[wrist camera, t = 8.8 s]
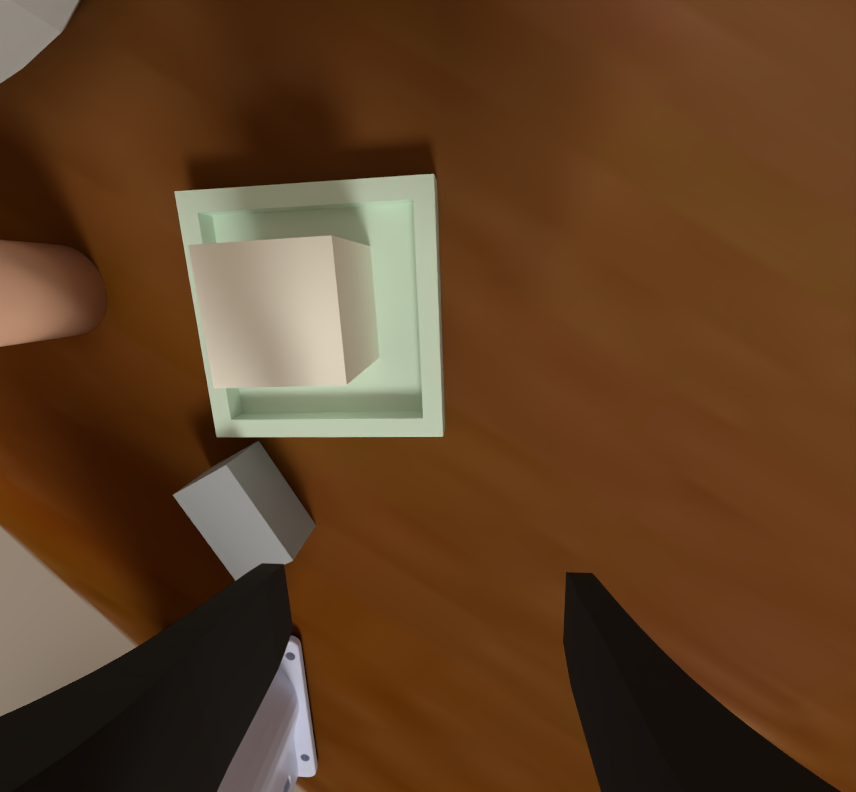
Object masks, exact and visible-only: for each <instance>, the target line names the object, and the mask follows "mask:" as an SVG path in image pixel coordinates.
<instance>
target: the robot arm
mask: <svg viewBox="0 0 856 792" xmlns="http://www.w3.org/2000/svg"><path fill="white" fill-rule="evenodd" d="M292 631H293V625H292V618H291V611H290V604H289V597H288V590H287V583H286V576H285V569H284V564H271V563H261V564H260V565H258V566H256V567H255V568H253V569H252V570H250V571H249V572H247V573H246V574H244V575H243V576H242V577H240V578H239V579H237V580H236V581H234V582H233V583H232V584H230V585H229V586H227V587H226V588H225V589H223V590H222V591H220V592H219V593H218V594H216V595H215V596H213V597H212V598H210V599H209V600H208V601H206V602H205V603H203V604H202V605H200V606H199V607H198V608H196V609H195V610H193V611H192V612H190V613H189V614H187V615H186V616H184V617H183V618H181V619H180V620H178V621H177V622H175V623H174V624H172V625H171V626H169V627H168V628H166V629H165V630H163V631H161V632H160V633H158V634H157V635H155V636H154V637H152V638H151V639H149V640H148V641H146V642H144V643H143V644H141V645H139V646H138V647H136V648H135V649H133V650H131V651H129V652H128V653H126V654H124V655H123V656H121V657H119V658H118V659H116V660H114V661H112V662H110V663H108V664H107V665H105V666H103V667H101V668H99V669H98V670H96V671H94V672H92V673H90V674H88V675H86V676H84V677H82V678H80V679H79V680H76V681H74V682H72V683H70V684H68V685H67V686H64V687H62V688H60V689H58V690H56V691H54V692H52V693H50V694H48V695H46V696H44V697H42V698H40V699H38V700H36V701H34V702H32V703H30V704H27V705H26V706H23V707H21V708H19V709H16V710H14V711H12V712H10V713H7V714H5V715H3V716H1V717H0V792H293V789H294V786H295V783H296V781H297V778H298V776H302V777H311V776H314V775H315V773H316V770H317V766H318V765H317V758H316V750H315V743H314V736H313V728H312V721H311V714H310V706H309V699H308V692H307V685H306V677H305V670H304V663H303V655H302V648H301V643H300V640H299V639H298V638H297V637H295V636H291V634H292ZM563 644H564V649H565V655H566V661H567V667H568V673H569V678H570V684H571V688H572V692H573V695H574V699H575V702H576V706H577V710H578V713H579V717H580V720H581V724H582V727H583V731H584V734H585V738H586V741H587V744H588V748H589V751H590V755H591V758H592V762H593V765H594V769H595V772H596V776H597V779H598V783H599V786H600V790H601V792H841V791H839V790H838V789H836V788H835V787H833V786H831V785H830V784H828V783H827V782H825V781H824V780H822V779H821V778H819V777H818V776H817V775H815V774H814V773H812V772H811V771H809V770H808V769H807V768H805V767H804V766H802V765H801V764H799V763H798V762H796V761H795V760H794V759H792V758H791V757H789V756H788V755H787V754H785V753H784V752H783V751H781V750H780V749H779V748H777V747H776V746H775V745H773V744H772V743H771V742H769V741H768V740H767V739H765V738H764V737H763V736H761V735H760V734H758V733H757V732H756V731H754V730H753V729H752V728H751V727H749V726H748V725H747V724H745V723H744V722H743V721H742V720H740V719H739V718H738V717H737V716H735V715H734V714H733V713H732V712H730V711H729V710H728V709H727V708H726V707H724V706H723V705H722V704H721V703H720V702H718V701H717V700H716V699H715V698H714V697H713V696H711V695H710V694H709V693H708V692H707V691H705V690H704V689H703V688H702V687H701V686H700V685H698V684H697V683H696V682H695V681H694V680H693V679H692V678H691V677H689V676H688V675H687V674H686V673H685V672H684V671H683V670H682V669H681V668H680V667H679V666H678V665H677V664H676V663H675V662H674V661H673V660H672V659H671V658H670V657H668V656H667V655H666V654H665V653H664V652H663V651H662V649H661V648H660V647H659V646H658V645H657V644H656V643H655V642H654V641H653V640H652V639H651V638H650V637H649V636H648V635H647V634H646V633H645V632H644V631H643V630H642V629H641V628H640V627H639V625H638V624H637V623H636V622H635V621H634V620H633V619H632V618H631V617H630V616H629V615H628V613H627V612H626V611H625V610H624V609H623V608H622V607H621V606H620V604H619V603H618V602H617V601H616V600H615V599H614V598H613V596H612V595H611V594H610V593H609V592H608V591H607V589H606V588H605V587H604V586H603V585H602V583H601V582H600V581H599V580H598V579H597V578H596V577H595V576H594V575H593V574H592V573H569V572H566V590H565V613H564V636H563ZM290 652H291V653H293V654H291V653H290Z"/></svg>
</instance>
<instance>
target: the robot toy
mask: <svg viewBox="0 0 856 792" xmlns="http://www.w3.org/2000/svg"><path fill="white" fill-rule="evenodd" d="M80 1H81V0H0V83H2V82H3V81H5V80H6V79H8V78H9V77H11V76H12V75H14V74H15V73H16V72H18V71H19V70H21V69H22V68H24V67H25V66H26V65H27V64H28V63H29V62H30V61H31V60H32V59H33V58H34V57H35V56H37V55H38V54H39V53H40V52H41V51H42V50H43V49H44V48H45V47H46V46H47V45H48V44H50V43H51V42H52V41H53V40H54V39H55V38H56V37H57V36H58V35H59V34H60V33H61V32H62V31H63V30H65V29H66V27H67V25H68V23H69V21H70V19H71V18H72V16H73V14H74V12H75V10H76V8H77V6H78V4H79V3H80Z"/></svg>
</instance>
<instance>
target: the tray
mask: <svg viewBox="0 0 856 792" xmlns="http://www.w3.org/2000/svg"><path fill="white" fill-rule="evenodd" d="M174 192H175V197H176V203H177V209H178V215H179V221H180V227H181V233H182V238H183V244H184V250H185V256H186V262H187V268H188V273H189V279H190V285H191V291H192V297H193V303H194V309H195V314H196V320H197V326H198V332H199V338H200V344H201V350H202V355H203V361H204V367H205V373H206V379H207V385H208V390H209V396H210V402H211V408H212V414H213V420H214V426H215V431H216V437H443V434H444V429H445V403H444V372H443V342H442V311H441V281H440V250H439V219H438V189H437V180H436V177H435V175H434V174H423V175H408V176H393V177H379V178H364V179H349V180H335V181H320V182H306V183H291V184H276V185H262V186H247V187H232V188H218V189H203V190H188V191H174ZM330 235H332V236H336V237H339V238H343V239H346V240H350V241H353V242H357V243H360V244H364V245H367V246H371V259H372V271H373V284H374V296H375V309H376V321H377V334H378V346H379V358H378V359H377V360H376V361H375V362H373V363H372V364H371V365H370V366H369V367H367V368H366V369H365V370H364V371H363V372H361V373H360V374H359V375H358V376H357V377H356V378H354V379H353V380H352V381H351V382H350V383H348V384H347V385H327V386H289V387H252V388H215V389H214V387H213V381H212V376H211V370H210V365H209V359H208V353H207V348H206V342H205V336H204V331H203V325H202V320H201V314H200V308H199V303H198V297H197V292H196V286H195V280H194V275H193V269H192V264H191V258H190V252H189V247H188V245H194V244H209V243H224V242H239V241H254V240H270V239H285V238H300V237H315V236H330Z"/></svg>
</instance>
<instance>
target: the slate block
mask: <svg viewBox="0 0 856 792" xmlns="http://www.w3.org/2000/svg"><path fill="white" fill-rule="evenodd" d="M173 496H174V498H175V499H176V500H177V502H178V503H179V504H180V506H181V507H182V509H183V510H184V511H185V513H186V514H187V515H188V517H189V518H190V519H191V521H192V522H193V523H194V525H195V526H196V528H197V529H198V530H199V532H200V533H201V534H202V536H203V537H204V538H205V540H206V541H207V543H208V544H209V545H210V547H211V548H212V549H213V551H214V552H215V553H216V555H217V556H218V558H219V559H220V560H221V562H222V563H223V564H224V566H225V567H226V568H227V570H228V571H229V572H230V574H231V575H232V577H233V578H234V579H235V581H236V580H237V579H239V578H240V577H242V576H243V575H244V574H246V573H247V572H249V571H250V570H252V569H253V568H255V567H256V566H258V565H260V564H261V563H271V564H284V565H285V564H287V563H289V562H291V561H293V560H294V558H295V557H296V555H297V554H298V552H299V551H300V549H301V548H302V546H303V544H304V543H305V541H306V540H307V538H308V537H309V535H310V534H311V532H312V531H313V529H314V527H315V526H316V524H315V523H314V522H313V520H312V519H311V517H310V516H309V514H308V513H307V511H306V510H305V508H304V507H303V505H302V504H301V502H300V501H299V499H298V498H297V496H296V495H295V493H294V492H293V491H292V489H291V488H290V486H289V485H288V483H287V482H286V480H285V479H284V477H283V476H282V474H281V473H280V471H279V470H278V468H277V467H276V465H275V464H274V462H273V461H272V460H271V458H270V457H269V455H268V454H267V452H266V451H265V449H264V448H263V446H262V445H261V443H260V442H259V441H257V442H255V443H254V444H252V445H250V446H248V447H247V448H245V449H243V450H241V451H239V452H238V453H236V454H234V455H232V456H231V457H229V458H227V459H225V460H223V461H222V462H220V463H218V464H216V465H215V466H213V467H211V468H210V469H208V470H207V471H205V472H204V473H203V474H201V475H200V476H198V477H197V478H196V479H194V480H193V481H191V482H190V483H189V484H187V485H186V486H184V487H183V488H182V489H180V490H179V491H177V492H176V493H175V494H173Z"/></svg>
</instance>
